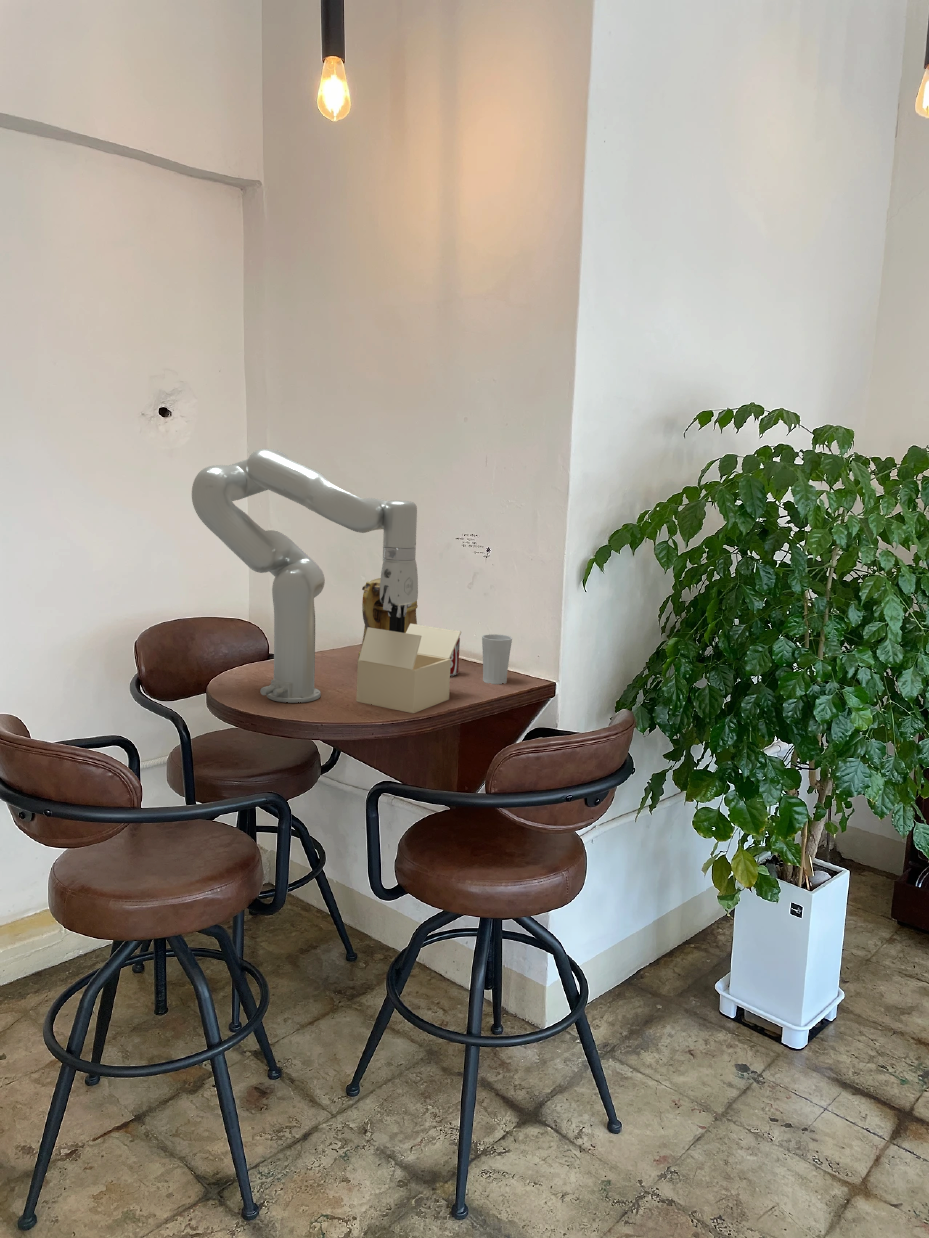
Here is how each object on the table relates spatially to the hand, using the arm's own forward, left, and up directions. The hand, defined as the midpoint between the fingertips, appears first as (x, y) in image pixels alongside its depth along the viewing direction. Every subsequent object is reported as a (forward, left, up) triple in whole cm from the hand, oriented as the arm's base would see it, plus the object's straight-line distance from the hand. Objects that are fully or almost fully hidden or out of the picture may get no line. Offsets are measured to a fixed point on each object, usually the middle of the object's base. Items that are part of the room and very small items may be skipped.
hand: (396, 633), depth 209 cm
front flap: (-3, 0, -3) cm, 4 cm away
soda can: (+34, +6, -17) cm, 38 cm away
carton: (+4, 0, -17) cm, 17 cm away
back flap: (+14, 0, -4) cm, 15 cm away
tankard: (+30, +23, -17) cm, 41 cm away
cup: (+36, -8, -17) cm, 41 cm away
